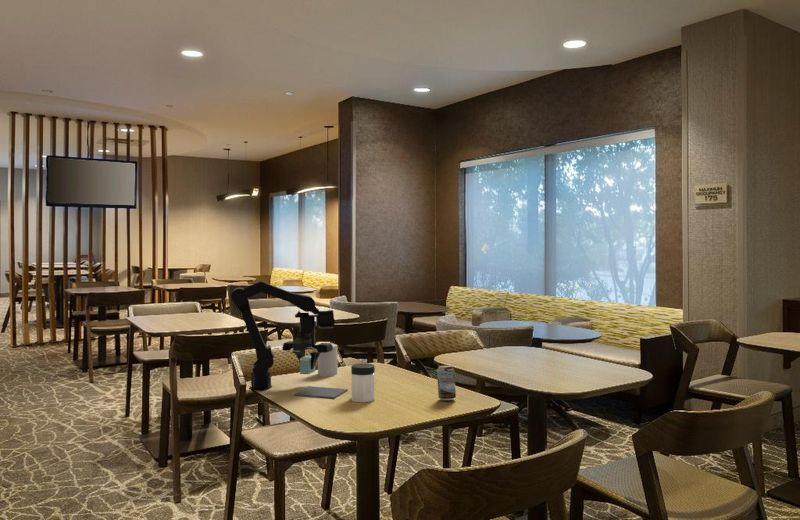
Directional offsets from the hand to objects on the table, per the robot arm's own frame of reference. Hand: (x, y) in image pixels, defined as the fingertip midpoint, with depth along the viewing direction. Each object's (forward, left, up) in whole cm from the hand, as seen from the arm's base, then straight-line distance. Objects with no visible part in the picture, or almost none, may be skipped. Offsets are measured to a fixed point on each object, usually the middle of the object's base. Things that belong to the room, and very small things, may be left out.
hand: (307, 369), depth 233 cm
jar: (+28, -13, -7) cm, 31 cm away
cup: (-1, +21, -7) cm, 22 cm away
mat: (+10, -9, -6) cm, 15 cm away
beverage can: (+56, -5, -6) cm, 56 cm away
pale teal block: (0, 0, -1) cm, 1 cm away
